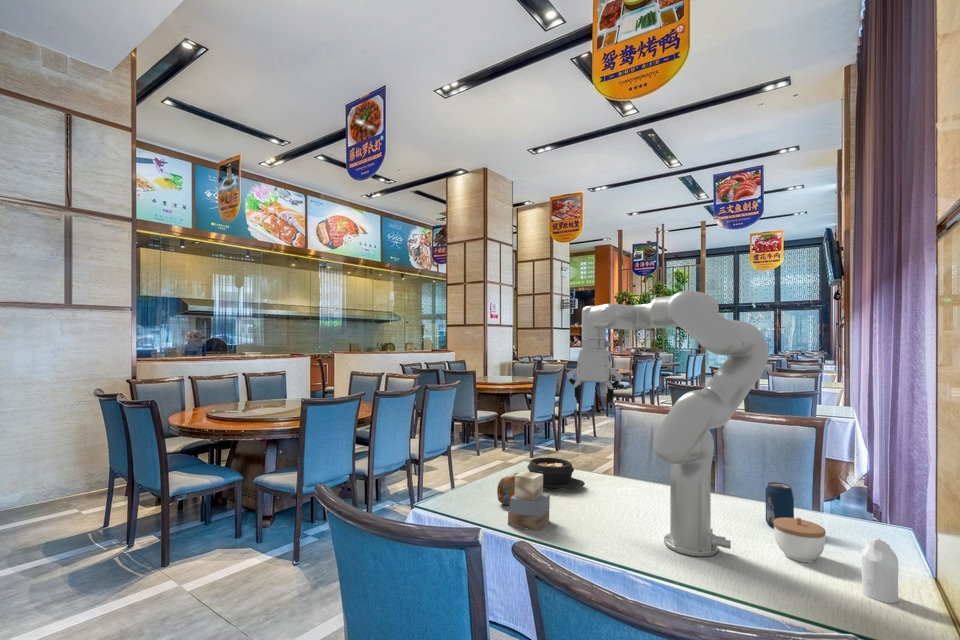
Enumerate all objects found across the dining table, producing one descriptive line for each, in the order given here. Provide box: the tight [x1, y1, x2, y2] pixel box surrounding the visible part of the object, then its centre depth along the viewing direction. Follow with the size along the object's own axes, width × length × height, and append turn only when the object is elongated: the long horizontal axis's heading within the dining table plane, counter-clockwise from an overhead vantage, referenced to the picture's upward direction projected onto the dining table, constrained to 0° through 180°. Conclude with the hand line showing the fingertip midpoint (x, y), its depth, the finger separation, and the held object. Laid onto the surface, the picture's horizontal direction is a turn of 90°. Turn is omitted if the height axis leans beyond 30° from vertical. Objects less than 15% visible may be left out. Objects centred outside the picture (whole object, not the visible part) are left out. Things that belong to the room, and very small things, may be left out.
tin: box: [496, 472, 520, 506], centre depth 157 cm, size 15×3×8 cm, turn 143°
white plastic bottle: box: [861, 538, 899, 604], centre depth 100 cm, size 6×12×6 cm
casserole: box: [526, 457, 586, 490], centre depth 176 cm, size 25×19×8 cm
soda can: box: [765, 481, 795, 530], centre depth 139 cm, size 7×7×12 cm
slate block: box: [509, 492, 551, 518], centre depth 138 cm, size 9×9×4 cm
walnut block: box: [507, 508, 550, 532], centre depth 138 cm, size 9×9×4 cm
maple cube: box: [515, 470, 544, 501], centre depth 138 cm, size 6×6×6 cm
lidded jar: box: [773, 517, 826, 563], centre depth 119 cm, size 11×11×9 cm
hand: (593, 401), depth 149 cm, fingers open, 9 cm apart
